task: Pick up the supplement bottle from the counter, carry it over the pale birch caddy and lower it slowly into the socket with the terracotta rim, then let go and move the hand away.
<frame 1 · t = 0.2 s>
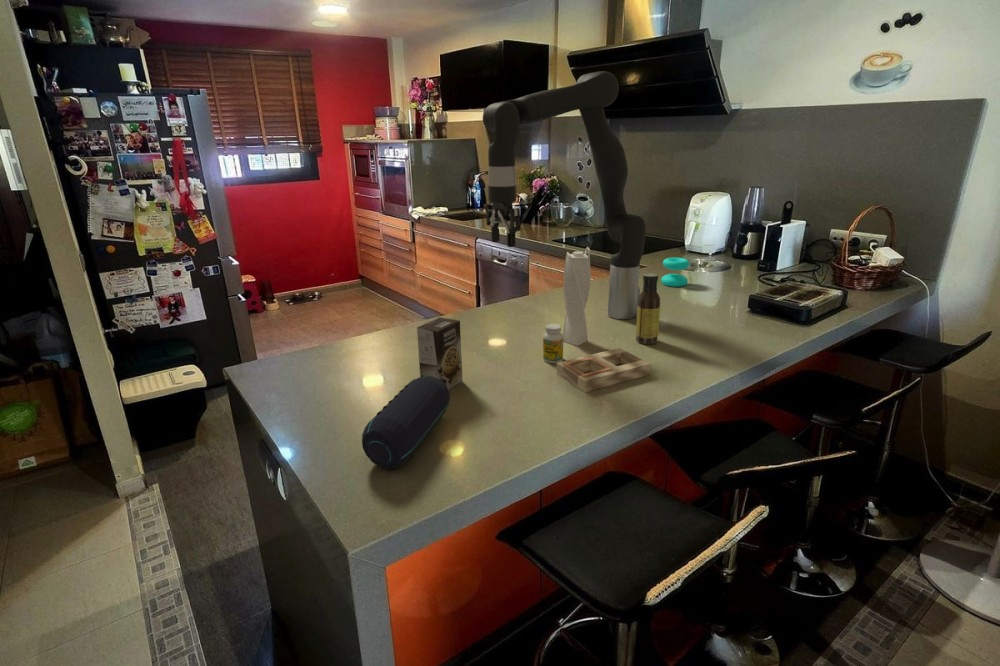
hand: (503, 244, 147), 29 cm above the counter, fingers open, 8 cm apart
skyscraper: (575, 342, 156), on the counter
donuts: (674, 284, 212), on the counter
supplement bottle: (552, 360, 144), on the counter
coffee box: (442, 386, 130), on the counter
sauce bottle: (646, 341, 155), on the counter
cup caddy: (602, 374, 135), on the counter
portable speaker: (410, 441, 107), on the counter
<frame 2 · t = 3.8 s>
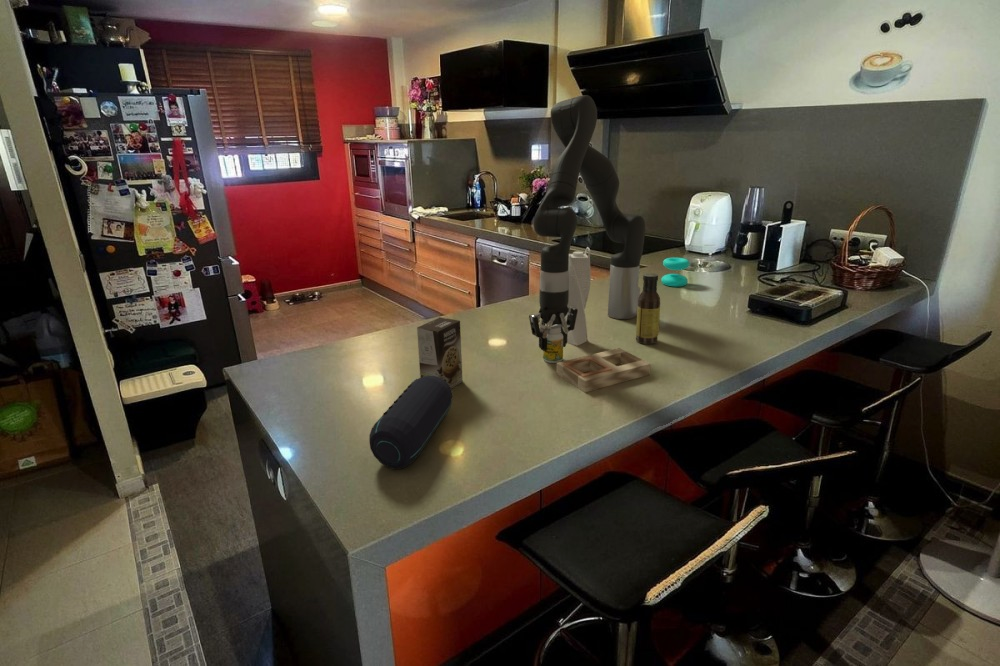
hand: (553, 347, 142), 4 cm above the counter, fingers closed on supplement bottle, 5 cm apart
supplement bottle: (552, 360, 144), on the counter, touching gripper
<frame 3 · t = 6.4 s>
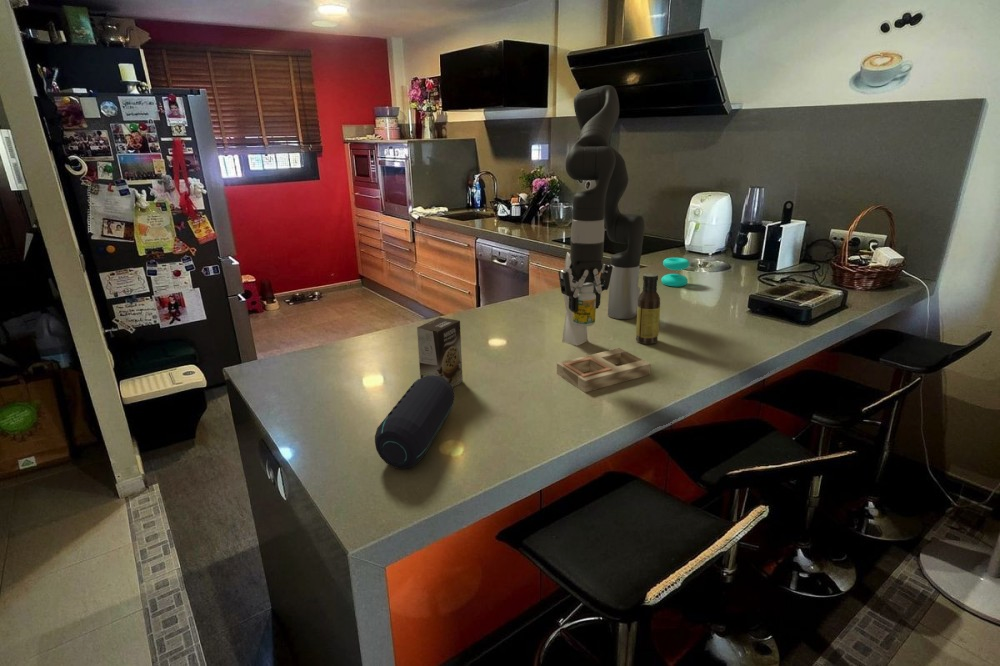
hand: (584, 309, 127), 18 cm above the counter, fingers closed on supplement bottle, 5 cm apart
supplement bottle: (583, 324, 128), point 14 cm above the counter, touching gripper
when the fingers open (5 cm above the counter, at t = 9.3 s): supplement bottle drops 1 cm, resting in cup caddy.
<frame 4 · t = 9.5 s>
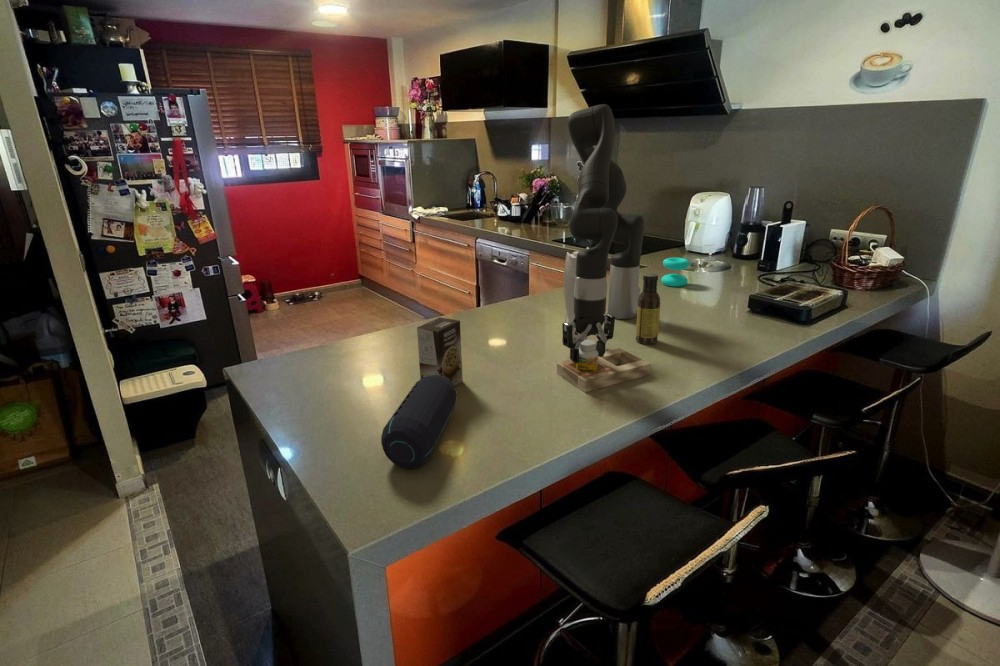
hand: (587, 358, 131), 5 cm above the counter, fingers open, 7 cm apart
supplement bottle: (586, 378, 133), resting in cup caddy
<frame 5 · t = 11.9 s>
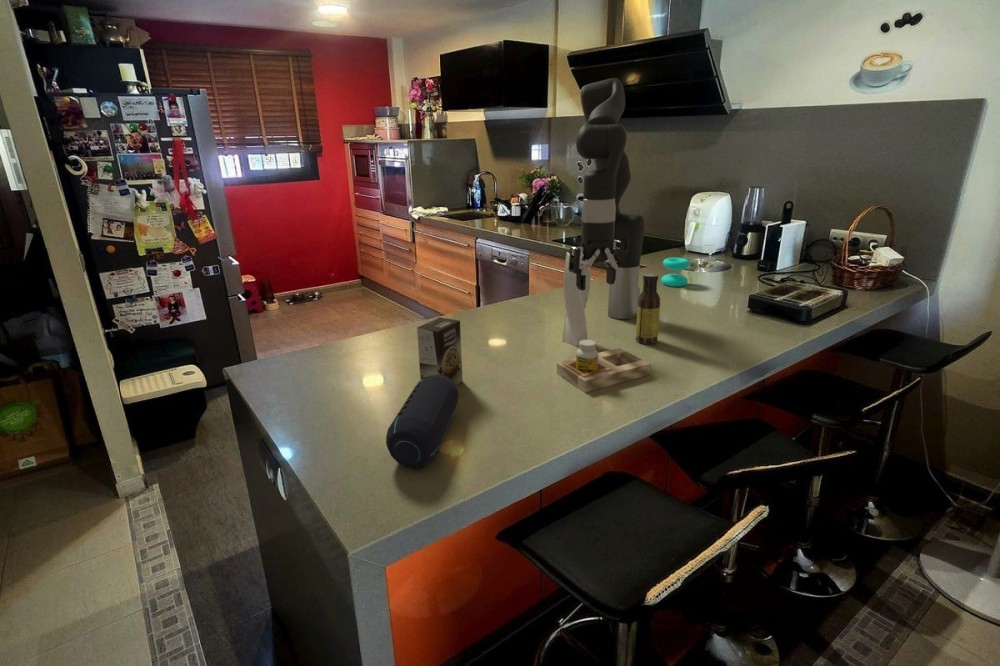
hand: (595, 286, 127), 23 cm above the counter, fingers open, 8 cm apart
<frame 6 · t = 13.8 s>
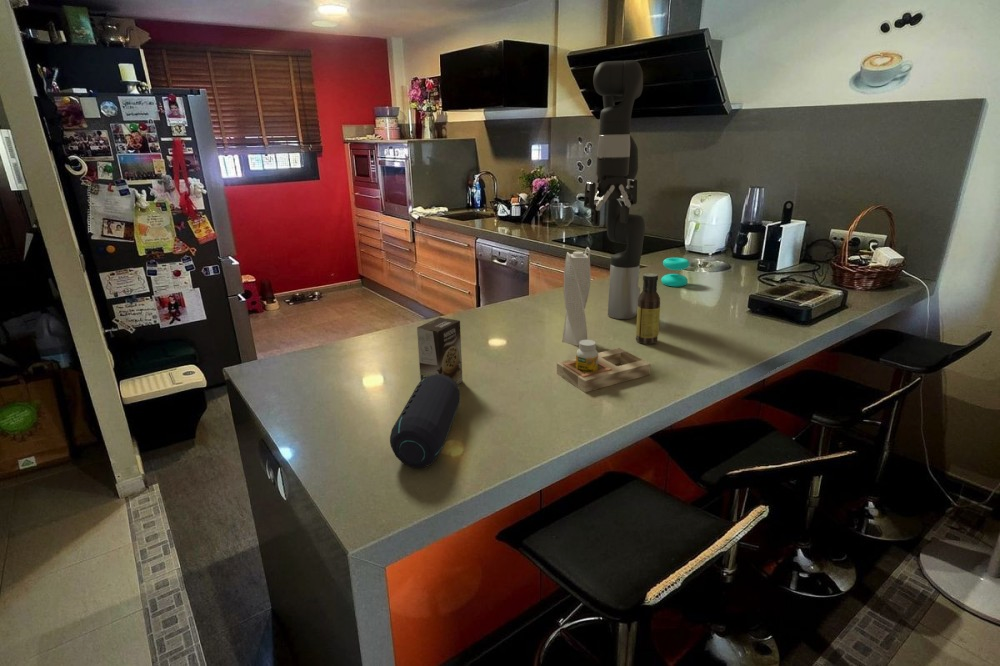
hand: (609, 224, 131), 36 cm above the counter, fingers open, 8 cm apart
at the end: supplement bottle 0.1 cm from the target spot on the cup caddy, point 0.0 cm above the cup caddy's base; supplement bottle tilted 0°; the gripper is holding nothing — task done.
